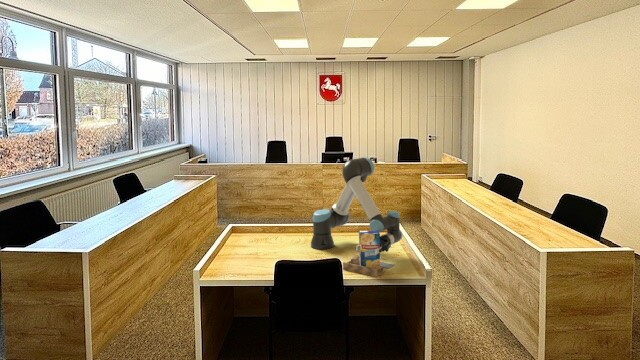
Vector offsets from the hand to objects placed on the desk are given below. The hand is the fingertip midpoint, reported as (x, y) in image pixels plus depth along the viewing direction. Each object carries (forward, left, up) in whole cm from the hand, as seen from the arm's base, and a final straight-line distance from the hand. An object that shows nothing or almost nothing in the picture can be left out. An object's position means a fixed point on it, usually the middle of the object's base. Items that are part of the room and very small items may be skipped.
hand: (365, 250), depth 295 cm
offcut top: (-10, +4, -10) cm, 14 cm away
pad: (0, +15, -13) cm, 19 cm away
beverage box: (0, +4, -13) cm, 13 cm away
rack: (-2, 0, -13) cm, 13 cm away
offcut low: (-10, +4, -13) cm, 16 cm away
